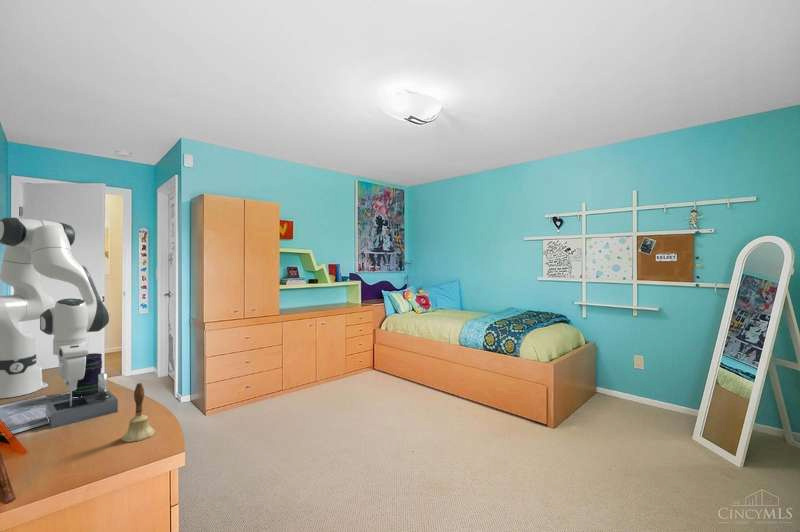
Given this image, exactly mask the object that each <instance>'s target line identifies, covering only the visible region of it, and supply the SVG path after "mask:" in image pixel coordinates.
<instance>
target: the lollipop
mask: <svg viewBox="0 0 800 532" xmlns="http://www.w3.org/2000/svg"><path fill="white" fill-rule="evenodd" d="M58 375H59V377H60V378H61V379H63V380H64V381H65V380H68V379H67V378H66V376H65V367H64V365H63V366H62V367H61V368H60V369H59V370H58ZM69 399H70V406H72V399H73V398H72V391H70V390H69Z"/></svg>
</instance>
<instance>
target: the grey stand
mask: <svg viewBox="0 0 800 532" xmlns="http://www.w3.org/2000/svg"><path fill="white" fill-rule="evenodd" d="M118 402H119V400H118V398H117V397H116V396H115V395H114V394H113V393H112V392H111V391H109V390H108V373H107V372H101V374H98V393H97V394H92V395H87V396H82V397H78V398H72V406H70V398H68V399H65V400H58V401H55V402H50V403H46V404H45V417H46V416H47V417H48V419H49V423H48V424H49V426H50V428H51V429H54V428H58V427H62V426H65V425H69V424H74V423H77V422H82V421H86V420H90V419H94V418H99V417H102V416H105V415H106V416H107V415H109V414H113V413H118V412H119V411H118V407H119V406H118V405H119V403H118Z"/></svg>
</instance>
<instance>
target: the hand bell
mask: <svg viewBox="0 0 800 532" xmlns="http://www.w3.org/2000/svg"><path fill="white" fill-rule="evenodd" d="M133 391H134V392H133V399H134V402H135V414H134V416H132V418H131V419H130V420H129V425H128V429H127V431H126V432H125V433H124V435H122V438H121V441H123V442H126V443H132V442H133V443H134V442H140V441H143V440H146V439H149V438H150V437H153V436H154V435H155V434H156V430H155V428H153V427H151V425H150V422H149V417H148V415H144V414H143V401H144V399H145V389H144V385H143V383H142V382H137V383H136V386H135V389H134V390H133Z"/></svg>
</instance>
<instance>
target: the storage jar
mask: <svg viewBox="0 0 800 532" xmlns="http://www.w3.org/2000/svg"><path fill="white" fill-rule="evenodd" d="M102 355H103V354H102V353H95V352H94V353H88V355H86V366H85V374H84V378H83V379H81V380H78V382H77V389H76V390H74V391H72V397H81V396H87V395H92V394H97V393H98V374H101V373H102V369H103V365H102V364H103V360H102V359H103V358H102V357H103V356H102Z"/></svg>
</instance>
